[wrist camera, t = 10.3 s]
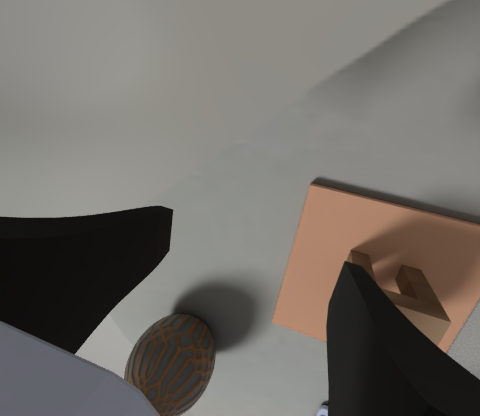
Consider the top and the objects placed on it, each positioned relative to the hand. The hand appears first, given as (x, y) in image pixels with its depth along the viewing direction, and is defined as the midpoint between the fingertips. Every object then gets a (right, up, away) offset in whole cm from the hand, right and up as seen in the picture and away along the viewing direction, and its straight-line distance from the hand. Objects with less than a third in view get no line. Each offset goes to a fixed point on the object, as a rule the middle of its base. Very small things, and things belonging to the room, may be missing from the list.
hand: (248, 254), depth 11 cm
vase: (-5, -10, +16) cm, 19 cm away
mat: (+9, -3, +9) cm, 13 cm away
